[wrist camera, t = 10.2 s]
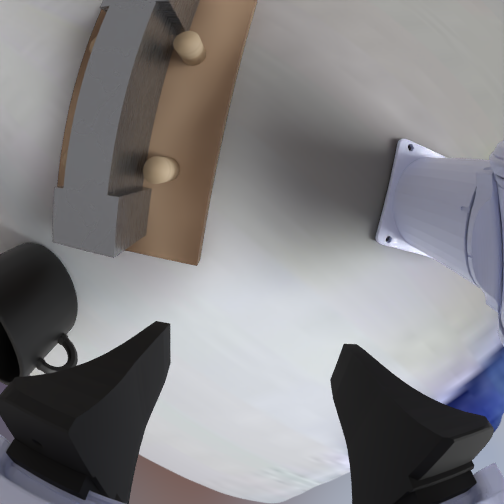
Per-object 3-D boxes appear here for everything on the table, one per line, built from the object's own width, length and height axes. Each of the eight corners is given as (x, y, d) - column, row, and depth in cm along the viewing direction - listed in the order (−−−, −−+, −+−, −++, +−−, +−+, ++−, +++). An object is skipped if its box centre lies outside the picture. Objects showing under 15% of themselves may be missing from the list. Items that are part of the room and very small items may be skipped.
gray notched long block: (143, 2, 13) (118, -30, 9) (199, 1, 14) (185, -38, 9) (92, 224, 18) (52, 242, 14) (146, 235, 19) (114, 257, 14)
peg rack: (256, 2, 15) (257, -24, 11) (199, 260, 20) (189, 279, 17) (113, 2, 14) (95, -17, 11) (63, 230, 20) (37, 241, 16)
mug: (82, 364, 24) (40, 423, 15) (4, 289, 22) (-49, 327, 13) (117, 308, 22) (62, 374, 13) (25, 220, 20) (-47, 249, 11)
